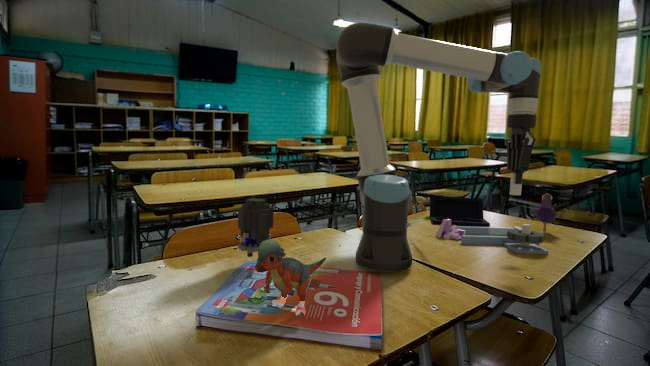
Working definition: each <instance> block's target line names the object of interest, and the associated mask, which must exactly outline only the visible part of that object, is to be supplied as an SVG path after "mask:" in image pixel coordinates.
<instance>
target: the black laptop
mask: <svg viewBox="0 0 650 366" xmlns="http://www.w3.org/2000/svg"><path fill="white" fill-rule="evenodd" d="M429 217H430V220H431V223H432V225H440V226H441V224H442V222H443V220H447V219H451V224H452V226H453V225H457V226H467V227H491V223H490V222H489V221H487V220H486V219H485V218H484V200H483V198H476V197H475V198H470V197H469V198H468V197H450V196H448V197H447V196H430V197H429Z"/></svg>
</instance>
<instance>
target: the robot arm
mask: <svg viewBox="0 0 650 366" xmlns="http://www.w3.org/2000/svg"><path fill="white" fill-rule="evenodd" d="M335 61H336V65H337V67H338V70H339V71H338V72H339V78H340V82H341V85H342V86H343V87H345V88H346V89H347V92H348V99H349V104H350V112H351V115H352V123H353V127H354V134H355V141H356V147H357V152H358V159H359V164H360V170H359V171H358V173H357V175H356V176H357V177H356V178H357V183H358V187H359V199H360V203H361V205H362V207H363V219H362V221H363V223H362V235H361V238H360V239H359V243H358V247H357V249H356V252H355V260H354V261H356V262H355V264H356V263H357V264H358V266H359V267H361V268H364V269H366V270H370V271H375V270H376V272H387V273H389V272H390V273H391V272H393V273H394V271H396V272H402V271H401V270H404V271H407V270H409V269H411V268H412V267H411V265H412V266H413V256H412V250H411V247H410V244H409V240H408V236H407V232H408V230H407V229H408V227H407V222H408V213H409V212H408V196H409V189H410V186H409V182H408V180H407V179H406V178H405V177H402V176H398V175H397V170H396V167H394V166H393V165H392V164H391V163H390V159H389V158H390V157H389V153H388V146H387V140H386V135H385V127H384V122H383V116H382V115H383V114H382V109H381V103H380V96H379V92H378V85H377V83H378V81H379V80H380V78H381V69H380V67H387V66H388V65H390V64H391V65H397V66H401V67H408V68H413V69H419V70H423V71H429V72H435V73H438V74H443V75H444V74H445V75H450V76H455V77H461V78H466V79H467V88H468V90H469V91H470V92H471V93H472V92H474V93H479V94H482V93H491V94H492V93H493V94H495V93H499V94H501V93H502V94H509V95H508V96H509V97H508V103H507V104H508V105H507V106H508V107H507V113H508V115H507V120H506V122H507V123H506V128H508V129H511V132H510V135H509V137H510V138H505V144H506V158H507V160H506V162H507V163H506V164H507V166H506V167H507V168H506V169H507V170H509V172H510V180H509V181H510V182H509V183H510V184H509V195H511V196H522V190H523V189H522V188H523V187H522V186H523V176H524V174H525V172H528V171H529V166H530V161H531V158H532V153H533V148H534V145H535V142H536V138H535V137H532V136H531V135H532V133H531V129H534V128H536V126H537V112H538V106H539V92H540V83H541V82H540V81H541V76H542V73H541V72H542V64H541V61H540V59H538V58H535V57H531V56H530V55H529V54H528V53H526V52H524V51H521V50H516V51H510V52H508V53H505V52H499V51H492V50H488V49H482V48H477V47H473V46H466V45H463V44H462V45H461V44H456V43H451V42H446V41H441V40H437V39H436V40H435V39H431V38H425V37H420V36H417V35H416V36H415V35H410V34H405V33H400V32H397V30H396V29H395V28H394V27H391V26H387V25H381V24H375V23H370V22H355V23H351V24H349V25H347V26H346V27H344V28H343V30H342V31H341V32H340V33H339V36H338V37H337V41H336V55H335ZM410 267H411V268H410ZM408 268H409V269H408ZM406 269H407V270H406Z"/></svg>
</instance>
